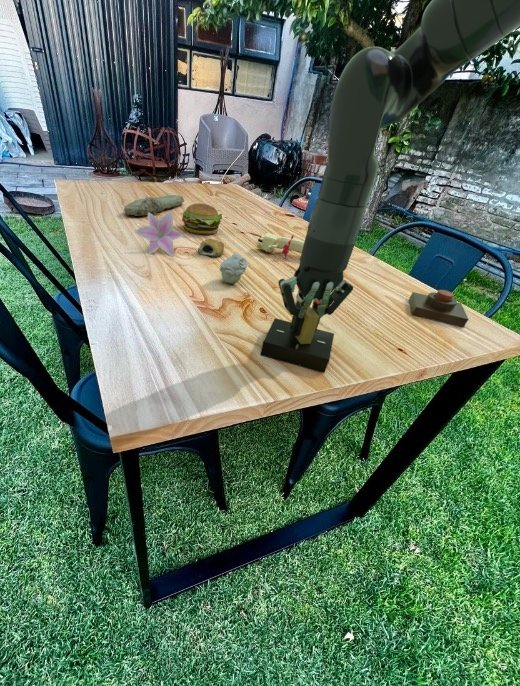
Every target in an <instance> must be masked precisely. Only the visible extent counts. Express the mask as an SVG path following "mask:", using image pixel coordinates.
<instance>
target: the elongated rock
mask: <svg viewBox="0 0 520 686" xmlns="http://www.w3.org/2000/svg"><path fill="white" fill-rule="evenodd" d="M183 203H185V198H184V196H183V195H177V194H172V195H171V194H167V195H164V196H163V195H162V196H157V197H153V196H145V198H139V199H137V200H134V201H133V202H129V203H128V204H126V205H124V207H123V212H124V214H127V215H129V216H130V215H131V216H135V217H139V216H148V213H151V214H152V215H154V216H155V215H156V214H158V212H163V211H164V210H165V209H171V208H175V207H179V206H180V205H183Z"/></svg>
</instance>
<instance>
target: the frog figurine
mask: <svg viewBox="0 0 520 686" xmlns="http://www.w3.org/2000/svg"><path fill="white" fill-rule="evenodd" d="M247 267H248V260H247V259H246V258H245V257H244V256H243V255H242V254H239V253H233V254H232V255H231V256H227V258H226V259H224V260H223V261H222V262H221V263H220V267H219V271H220V272H221V278H222V279H223V281H224V283H227V284H231V285H233V284H236V283H238V281H240V280H241V277H242V275H244V273H245V271H246V270H247Z"/></svg>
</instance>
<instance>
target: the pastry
mask: <svg viewBox="0 0 520 686" xmlns="http://www.w3.org/2000/svg"><path fill="white" fill-rule="evenodd" d="M224 250H225V243H224V242H222V241H220V240H218V239H213V238H207V239H204V240H202V241H201V242H200V244H199V247H198V248H197V252H198V253H199V255H201V256H208V257H212V258H213V257H215V258H216V257H220V256H221V255H222V254H224Z"/></svg>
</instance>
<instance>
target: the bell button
mask: <svg viewBox="0 0 520 686" xmlns="http://www.w3.org/2000/svg"><path fill="white" fill-rule="evenodd" d="M436 293H437V294H436V295H435V298H437V299H439V300H441V301H445V302H450V301H451V299H452V298H454V296H455V294H454V293H453V292H451V291H449V290H446V289H438V290H437V292H436Z"/></svg>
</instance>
